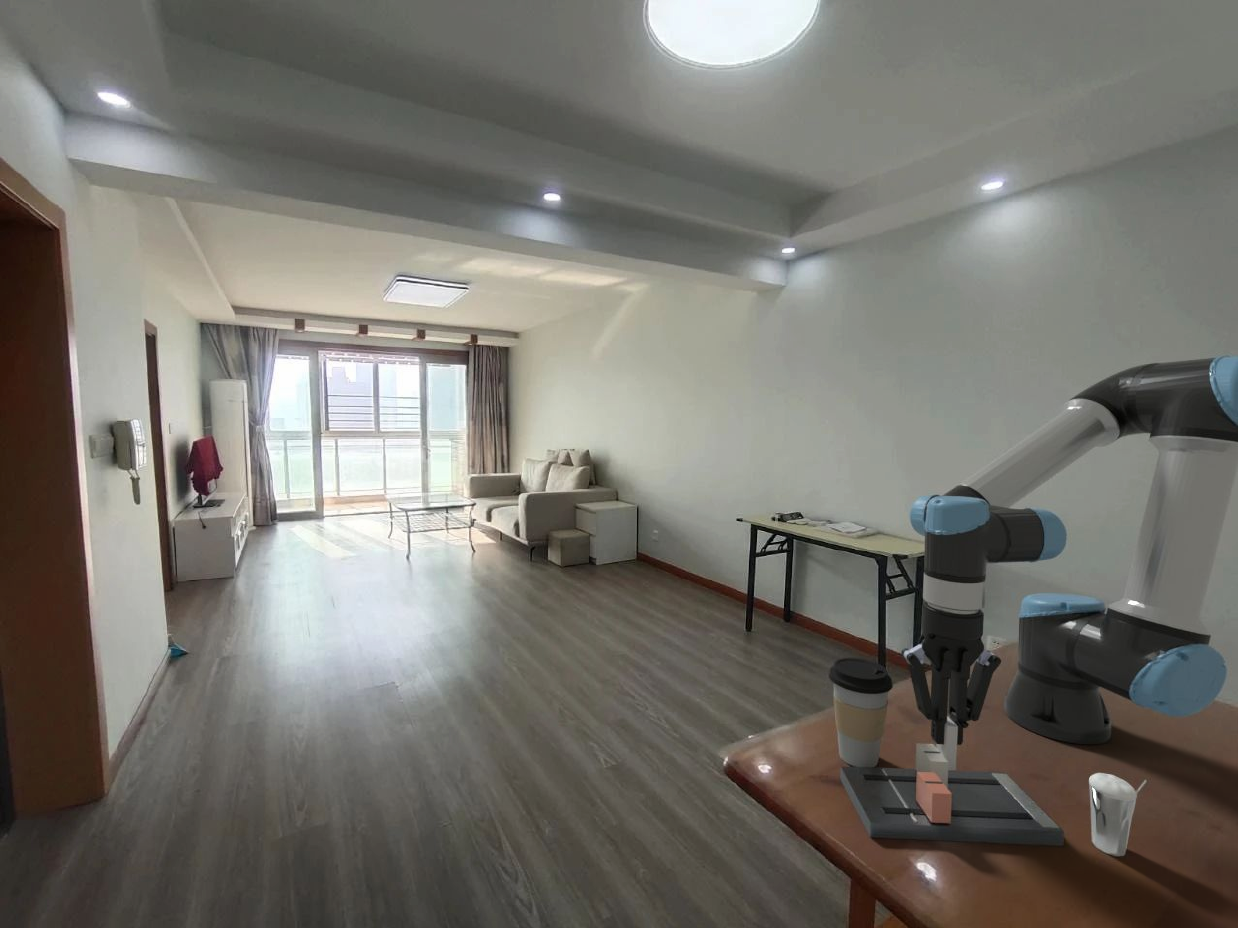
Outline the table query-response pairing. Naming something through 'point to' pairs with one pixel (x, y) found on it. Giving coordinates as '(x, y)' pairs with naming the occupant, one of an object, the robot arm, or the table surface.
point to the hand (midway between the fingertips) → (945, 763)
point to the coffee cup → (860, 708)
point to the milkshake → (1111, 812)
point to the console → (977, 808)
